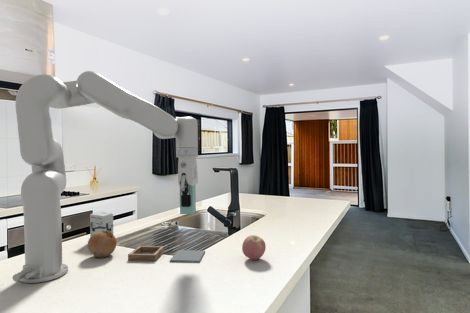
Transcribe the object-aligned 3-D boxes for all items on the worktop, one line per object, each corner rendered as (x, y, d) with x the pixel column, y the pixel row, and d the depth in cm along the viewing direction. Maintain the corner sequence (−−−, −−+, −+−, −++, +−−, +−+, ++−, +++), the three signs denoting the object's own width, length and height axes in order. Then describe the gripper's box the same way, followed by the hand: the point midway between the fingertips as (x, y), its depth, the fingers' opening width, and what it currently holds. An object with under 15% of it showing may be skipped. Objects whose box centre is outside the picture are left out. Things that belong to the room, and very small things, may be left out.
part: (192, 214, 103) (192, 185, 103) (180, 214, 104) (179, 185, 103) (195, 211, 108) (195, 183, 107) (183, 211, 108) (183, 183, 108)
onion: (113, 262, 110) (126, 236, 111) (96, 264, 101) (110, 236, 102) (95, 250, 113) (107, 225, 114) (76, 251, 104) (90, 224, 105)
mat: (199, 262, 100) (199, 260, 100) (170, 261, 101) (170, 259, 101) (205, 252, 110) (205, 250, 110) (178, 251, 111) (178, 250, 111)
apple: (246, 264, 98) (245, 240, 98) (239, 256, 105) (239, 234, 105) (268, 262, 100) (268, 238, 100) (260, 254, 107) (260, 232, 107)
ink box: (89, 242, 124) (89, 213, 124) (100, 239, 129) (99, 211, 128) (104, 245, 120) (103, 215, 120) (114, 241, 124) (113, 213, 124)
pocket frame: (155, 261, 102) (155, 255, 102) (128, 260, 103) (128, 254, 103) (164, 251, 111) (164, 246, 111) (139, 251, 112) (139, 245, 112)
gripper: (192, 153, 96) (192, 210, 97) (202, 152, 113) (203, 201, 114) (169, 153, 97) (170, 210, 97) (182, 153, 114) (183, 201, 114)
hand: (187, 204), depth 105 cm, fingers closed on part, 4 cm apart
